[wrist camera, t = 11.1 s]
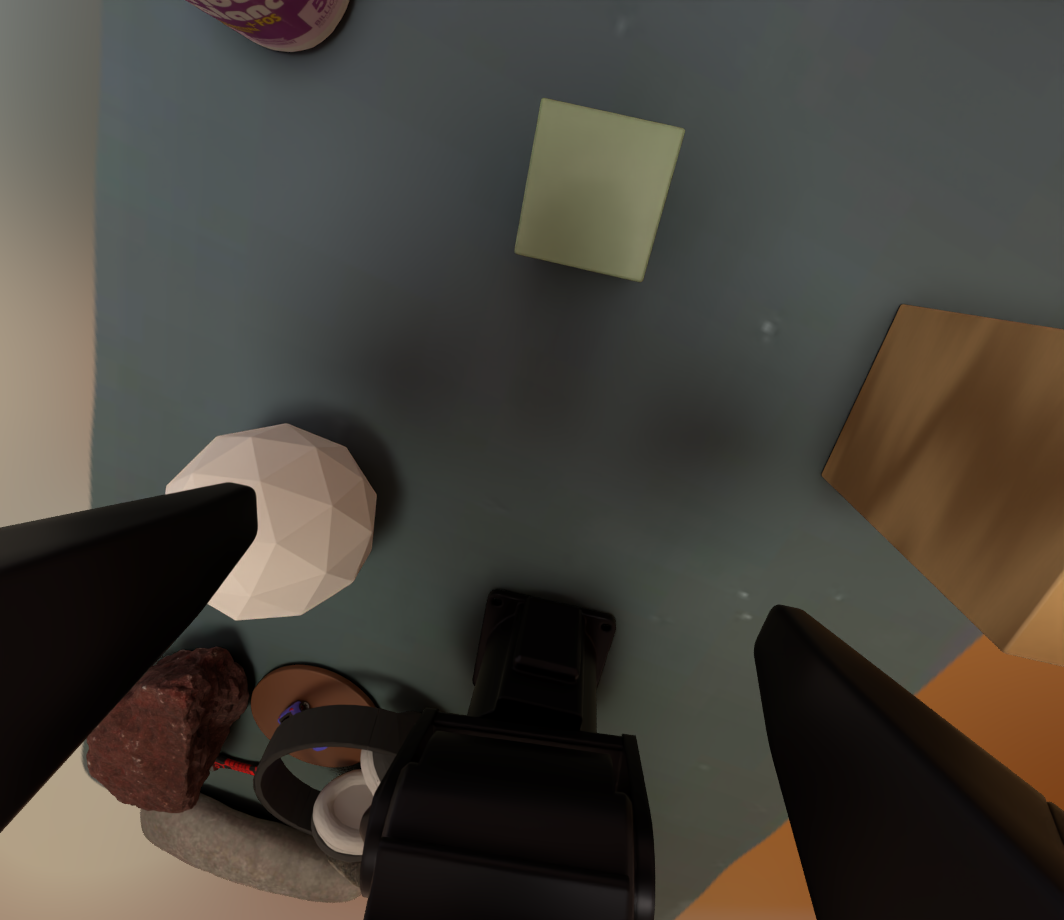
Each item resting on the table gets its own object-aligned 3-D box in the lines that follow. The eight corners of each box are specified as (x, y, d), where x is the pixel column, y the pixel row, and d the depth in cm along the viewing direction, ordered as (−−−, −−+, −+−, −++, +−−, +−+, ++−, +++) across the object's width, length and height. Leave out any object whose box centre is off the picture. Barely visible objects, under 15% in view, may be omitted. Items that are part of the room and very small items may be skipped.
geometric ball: (371, 493, 27) (319, 648, 23) (208, 434, 23) (114, 605, 19) (428, 442, 21) (372, 637, 17) (223, 353, 17) (93, 573, 13)
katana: (265, 754, 32) (259, 764, 31) (271, 771, 33) (265, 781, 32) (92, 732, 33) (83, 741, 33) (101, 749, 34) (92, 758, 33)
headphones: (524, 925, 31) (213, 834, 26) (525, 845, 35) (254, 751, 30) (625, 864, 28) (285, 741, 22) (614, 782, 31) (322, 659, 26)
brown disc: (328, 777, 32) (316, 801, 30) (230, 702, 30) (213, 724, 29) (408, 728, 29) (399, 752, 28) (306, 643, 27) (290, 664, 26)
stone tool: (364, 896, 31) (348, 939, 33) (384, 839, 35) (368, 881, 36) (114, 813, 31) (110, 861, 32) (158, 763, 34) (153, 809, 36)
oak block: (989, 511, 20) (1318, 724, 11) (820, 475, 20) (1002, 654, 11) (1098, 342, 17) (1659, 439, 8) (900, 303, 18) (1230, 355, 8)
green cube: (632, 278, 18) (642, 283, 15) (529, 254, 18) (513, 253, 15) (666, 156, 17) (686, 127, 13) (552, 131, 17) (541, 96, 13)
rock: (96, 726, 21) (248, 814, 24) (204, 610, 26) (320, 692, 29) (35, 761, 26) (164, 830, 29) (134, 659, 32) (237, 725, 34)
